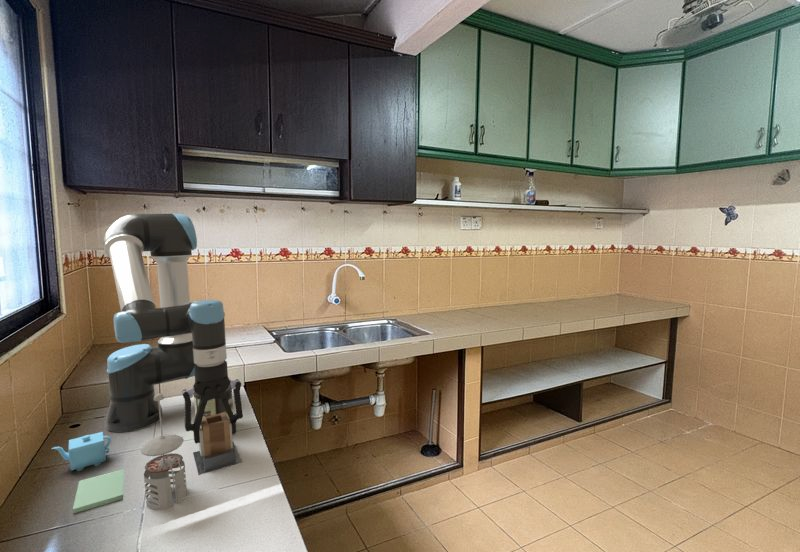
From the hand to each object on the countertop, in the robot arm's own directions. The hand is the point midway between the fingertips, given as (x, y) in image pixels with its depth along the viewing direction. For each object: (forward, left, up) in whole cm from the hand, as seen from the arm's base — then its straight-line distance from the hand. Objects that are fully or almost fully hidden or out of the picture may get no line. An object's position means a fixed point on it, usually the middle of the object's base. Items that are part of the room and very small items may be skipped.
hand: (216, 449), depth 107 cm
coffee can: (-16, +2, -4) cm, 16 cm away
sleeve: (0, 0, -1) cm, 1 cm away
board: (-2, -24, -3) cm, 24 cm away
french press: (+12, -12, -4) cm, 17 cm away
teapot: (-18, -29, -4) cm, 34 cm away
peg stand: (0, 0, -3) cm, 3 cm away
